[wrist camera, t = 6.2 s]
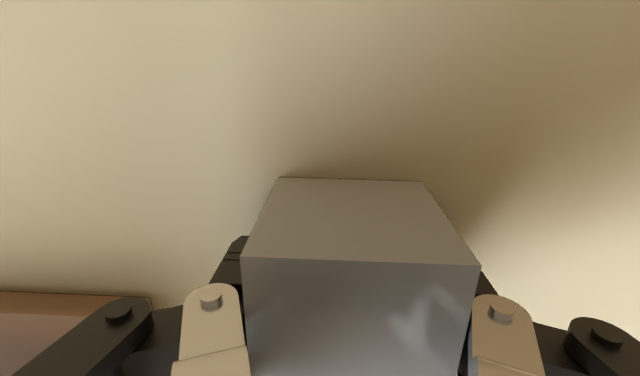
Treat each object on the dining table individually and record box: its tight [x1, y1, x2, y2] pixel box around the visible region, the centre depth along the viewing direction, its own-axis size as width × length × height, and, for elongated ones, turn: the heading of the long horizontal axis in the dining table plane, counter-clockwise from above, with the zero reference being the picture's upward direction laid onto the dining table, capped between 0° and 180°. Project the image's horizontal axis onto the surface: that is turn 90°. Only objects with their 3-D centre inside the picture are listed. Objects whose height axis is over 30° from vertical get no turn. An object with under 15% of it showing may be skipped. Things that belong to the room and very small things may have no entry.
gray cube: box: [240, 177, 481, 376], centre depth 10 cm, size 5×5×5 cm
